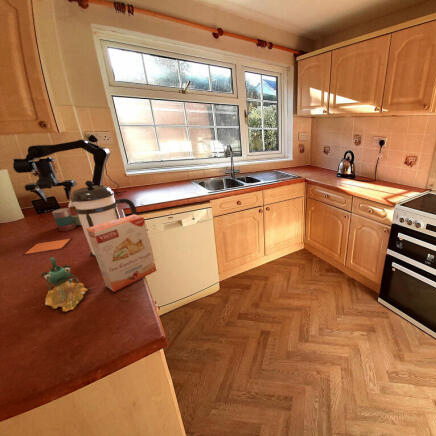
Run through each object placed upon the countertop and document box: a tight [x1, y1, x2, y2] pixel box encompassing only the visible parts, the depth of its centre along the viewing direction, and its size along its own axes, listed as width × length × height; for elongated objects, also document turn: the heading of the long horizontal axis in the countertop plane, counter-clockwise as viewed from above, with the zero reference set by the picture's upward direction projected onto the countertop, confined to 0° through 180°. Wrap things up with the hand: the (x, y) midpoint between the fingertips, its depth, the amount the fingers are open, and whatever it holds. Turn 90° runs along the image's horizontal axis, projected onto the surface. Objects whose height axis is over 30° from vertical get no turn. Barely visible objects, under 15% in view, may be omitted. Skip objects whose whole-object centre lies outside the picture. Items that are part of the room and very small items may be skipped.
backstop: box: [72, 214, 82, 227], centre depth 126 cm, size 12×2×5 cm, turn 113°
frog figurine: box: [40, 256, 89, 312], centre depth 72 cm, size 10×18×15 cm, turn 44°
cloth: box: [24, 238, 71, 255], centre depth 105 cm, size 12×10×1 cm
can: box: [51, 207, 77, 232], centre depth 121 cm, size 6×6×10 cm
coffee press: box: [67, 180, 139, 256], centre depth 95 cm, size 17×16×30 cm
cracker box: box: [86, 214, 157, 293], centre depth 78 cm, size 14×6×21 cm, turn 148°
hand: (57, 201), depth 127 cm, fingers open, 9 cm apart
